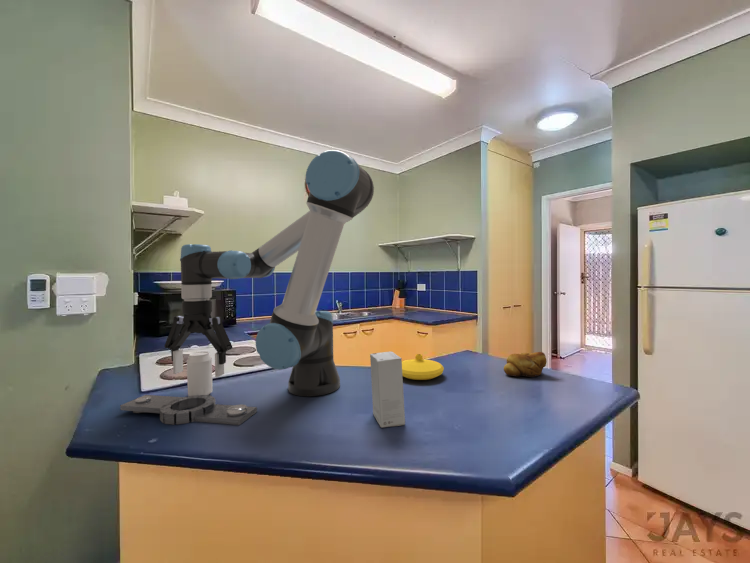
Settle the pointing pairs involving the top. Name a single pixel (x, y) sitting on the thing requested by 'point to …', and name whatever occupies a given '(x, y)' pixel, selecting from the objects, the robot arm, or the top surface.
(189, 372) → the beverage can
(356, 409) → the top surface
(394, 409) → the skincare box
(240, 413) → the grey pipe clamp bracket
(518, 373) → the bread roll
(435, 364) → the yellow lidded dish
